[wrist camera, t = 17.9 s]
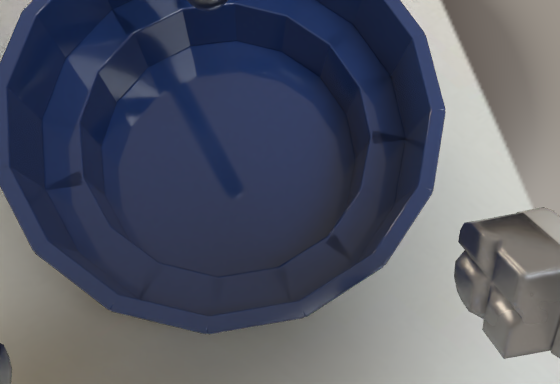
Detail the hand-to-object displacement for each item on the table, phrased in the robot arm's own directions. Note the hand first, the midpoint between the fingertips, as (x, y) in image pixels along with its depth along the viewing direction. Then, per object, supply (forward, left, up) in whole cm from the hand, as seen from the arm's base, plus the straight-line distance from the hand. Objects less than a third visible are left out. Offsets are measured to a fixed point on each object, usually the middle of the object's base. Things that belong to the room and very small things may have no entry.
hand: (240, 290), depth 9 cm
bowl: (+6, +2, -12) cm, 13 cm away
